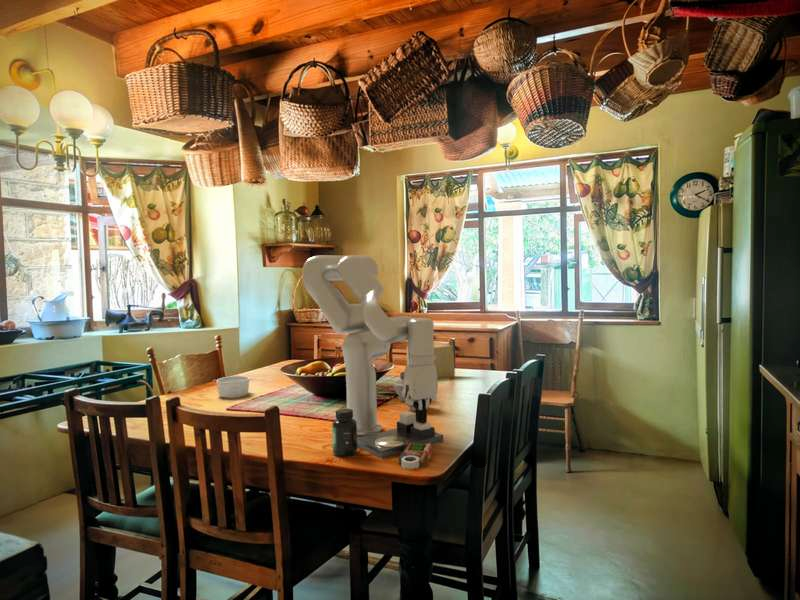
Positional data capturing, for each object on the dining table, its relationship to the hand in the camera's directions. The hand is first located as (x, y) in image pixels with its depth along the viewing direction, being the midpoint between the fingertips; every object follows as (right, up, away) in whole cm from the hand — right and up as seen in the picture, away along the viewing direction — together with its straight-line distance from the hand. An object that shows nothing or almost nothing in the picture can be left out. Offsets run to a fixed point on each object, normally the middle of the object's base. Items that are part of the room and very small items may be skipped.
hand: (421, 421), depth 156 cm
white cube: (0, -4, 0) cm, 4 cm away
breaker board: (-7, -6, -1) cm, 9 cm away
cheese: (+9, -1, +94) cm, 94 cm away
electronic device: (-2, -8, -13) cm, 16 cm away
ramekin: (-76, -4, +65) cm, 100 cm away
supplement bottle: (-22, -7, -8) cm, 24 cm away
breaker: (-4, -2, +6) cm, 7 cm away
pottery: (-2, -4, +45) cm, 45 cm away
